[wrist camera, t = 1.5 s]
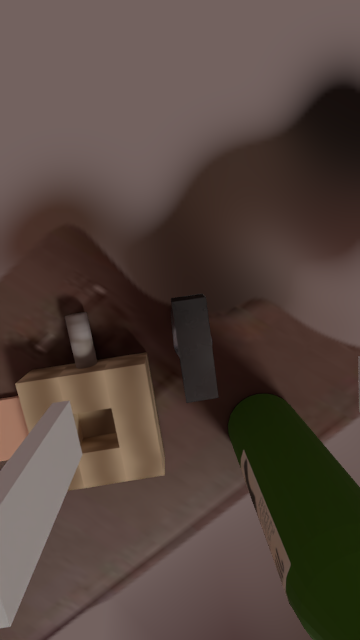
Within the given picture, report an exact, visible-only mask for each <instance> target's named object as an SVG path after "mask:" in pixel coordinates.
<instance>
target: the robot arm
mask: <svg viewBox="0 0 360 640" xmlns="http://www.w3.org/2000/svg"><path fill="white" fill-rule="evenodd" d="M358 367H359V412H360V356H358ZM82 455H83V454H82V450H81V446H80V442H79V438H78V433H77V429H76V425H75V421H74V417H73V413H72V409H71V404H70V400H69V401H63V402H56V403H52V404H51V406H50V407H49V408H48V410H47V411H46V412H45V413H44V415H43V416H42V417H41V419H40V420H39V421H38V423H37V424H36V425H35V426H34V428H33V429H32V430H31V432H30V433H29V434H28V436H27V437H26V438H25V439H24V441H23V442H22V443H21V445H20V446H19V447H18V449H17V450H16V451H15V452H14V454H13V455H12V456H11V458H10V459H9V460H8V462H7V463H6V464H5V465H4V467H3V468H2V469H1V471H0V628H4V627H11V624H12V622H13V619H14V617H15V615H16V612H17V610H18V607H19V605H20V603H21V600H22V598H23V595H24V593H25V591H26V588H27V586H28V584H29V581H30V579H31V576H32V574H33V572H34V569H35V567H36V564H37V562H38V560H39V557H40V555H41V552H42V550H43V548H44V545H45V543H46V541H47V538H48V536H49V533H50V531H51V529H52V526H53V524H54V521H55V519H56V517H57V514H58V512H59V509H60V507H61V505H62V502H63V500H64V498H65V495H66V493H67V490H68V488H69V486H70V483H71V481H72V478H73V476H74V474H75V471H76V469H77V466H78V464H79V462H80V459H81V457H82Z"/></svg>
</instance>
